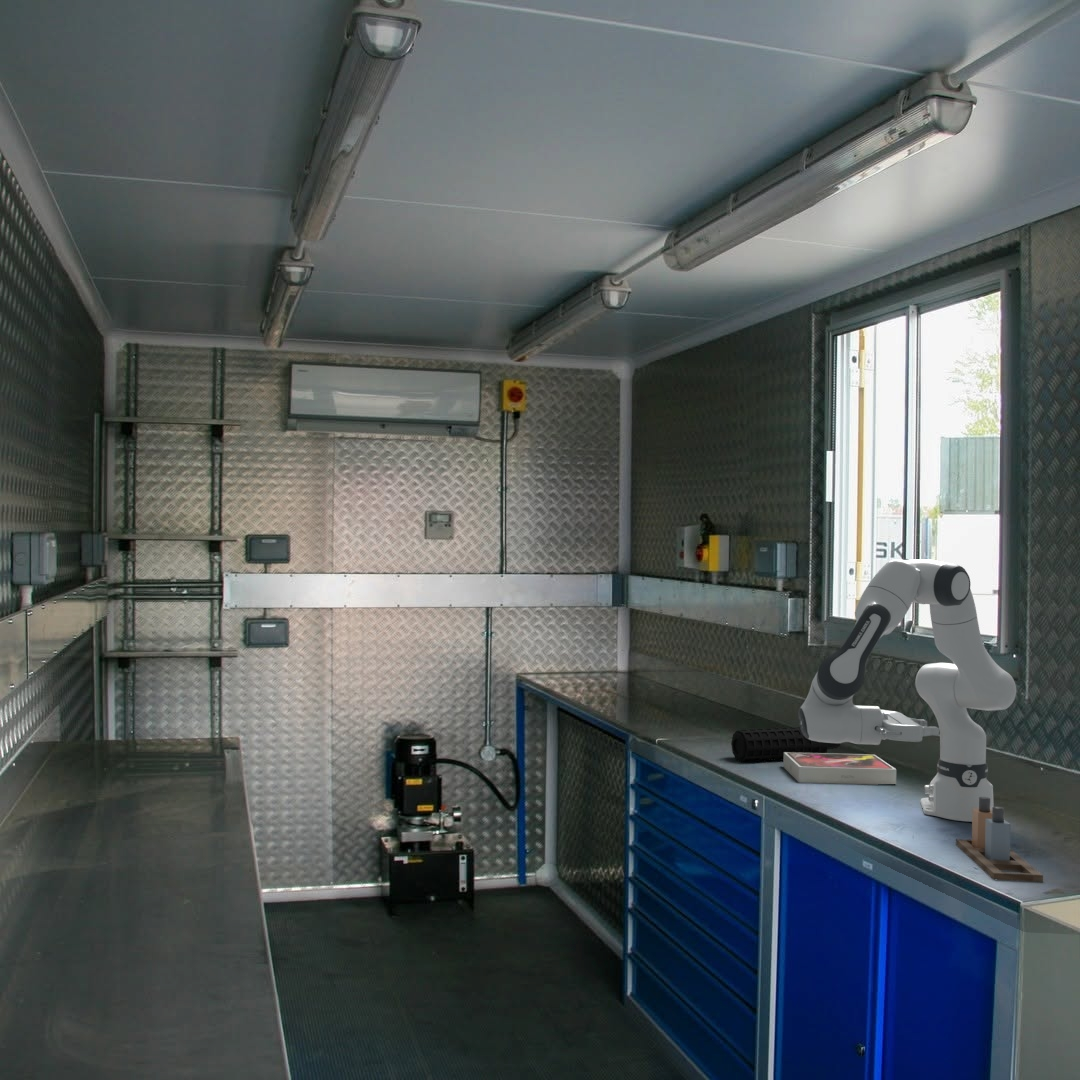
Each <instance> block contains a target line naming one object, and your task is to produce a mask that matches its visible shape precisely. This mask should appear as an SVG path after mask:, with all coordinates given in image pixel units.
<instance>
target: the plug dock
mask: <svg viewBox="0 0 1080 1080" xmlns="http://www.w3.org/2000/svg"><path fill="white" fill-rule="evenodd" d="M955 845H956V847H958V848H959V849H960V850H961V851H962V852H963V854H965V855H966V856H968V857H969V859H970V860H972V861H973V862H974V863H975V864H976V865H977V866H978V867H979V868H980V869H982V870H983V871H984V872H985V873H986V874H987V875H988V876H989V877H990V878H991V879H992V880H995V879H997V880H995V881H1019V882H1037V883H1043V882H1044V874H1042V873H1041V872H1040V871H1038V870H1037V869H1036V867H1035V868H1034V867H1033V866H1032V865H1031V864H1030V863H1028V862H1027V860H1025V859H1023V858H1022V857H1021V856H1020V855H1018V854H1017V853H1016V852H1015V851H1014V850H1012V849H1011V848H1010V861H1009V860H988V859H987V858H985V848H974V847H973V846H972V839H963V838H962V839H961V838H955ZM1003 871H1004V872H1003ZM1007 871H1008V872H1007ZM1009 871H1010V872H1009Z"/></svg>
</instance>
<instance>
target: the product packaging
mask: <svg viewBox="0 0 1080 1080" xmlns="http://www.w3.org/2000/svg"><path fill="white" fill-rule="evenodd" d="M782 761H783V763H782V764H783V768H784V769H785V770H786V771H787V772H788V773H789V774H790V775H791V776H792V777H793V778H794V779H795V780H796V782H798V783H805V784H807V783H808V784H810V783H811V784H812V783H813V784H840V785H841V784H843V785H845V784H846V785H848V784H849V785H850V784H851V785H878V784H896V785H897V769H896V767H894V766H892V765H890V764H889V763H887V762H886V761H885V760H883V759H882V758H881V757H879V756H877V755H876V754H868V753H867V754H864V753H831V752H830V753H828V752H827V753H791V752H784V759H783V760H782Z"/></svg>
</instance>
